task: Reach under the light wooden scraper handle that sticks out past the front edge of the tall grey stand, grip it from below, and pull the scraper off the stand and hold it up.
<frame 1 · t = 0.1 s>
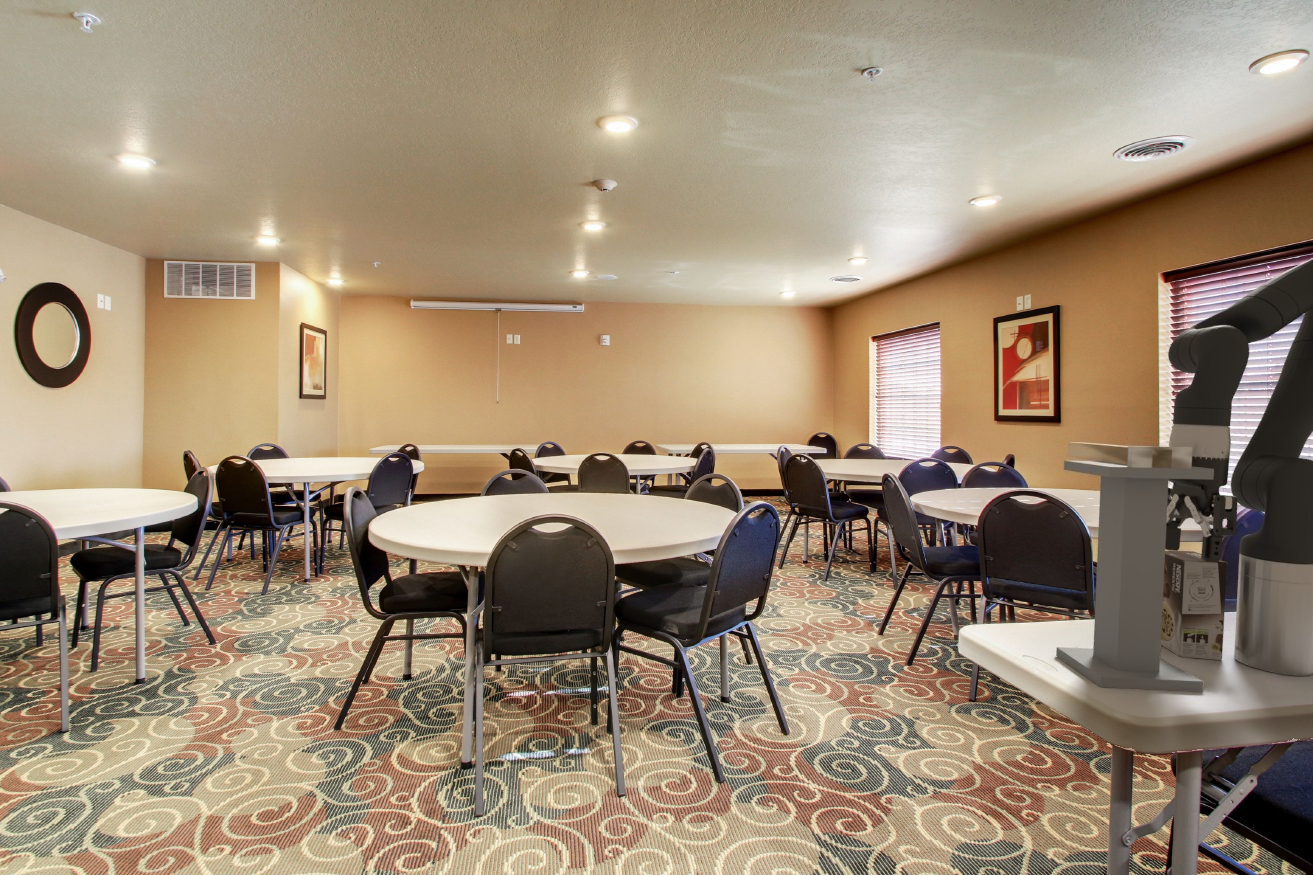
hand: (1189, 555, 104), 17 cm above the table, tool pointing down, fingers open, 8 cm apart
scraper: (1113, 461, 104), point 32 cm above the table, touching stand
stand: (1124, 672, 100), on the table
coffee box: (1185, 650, 111), on the table
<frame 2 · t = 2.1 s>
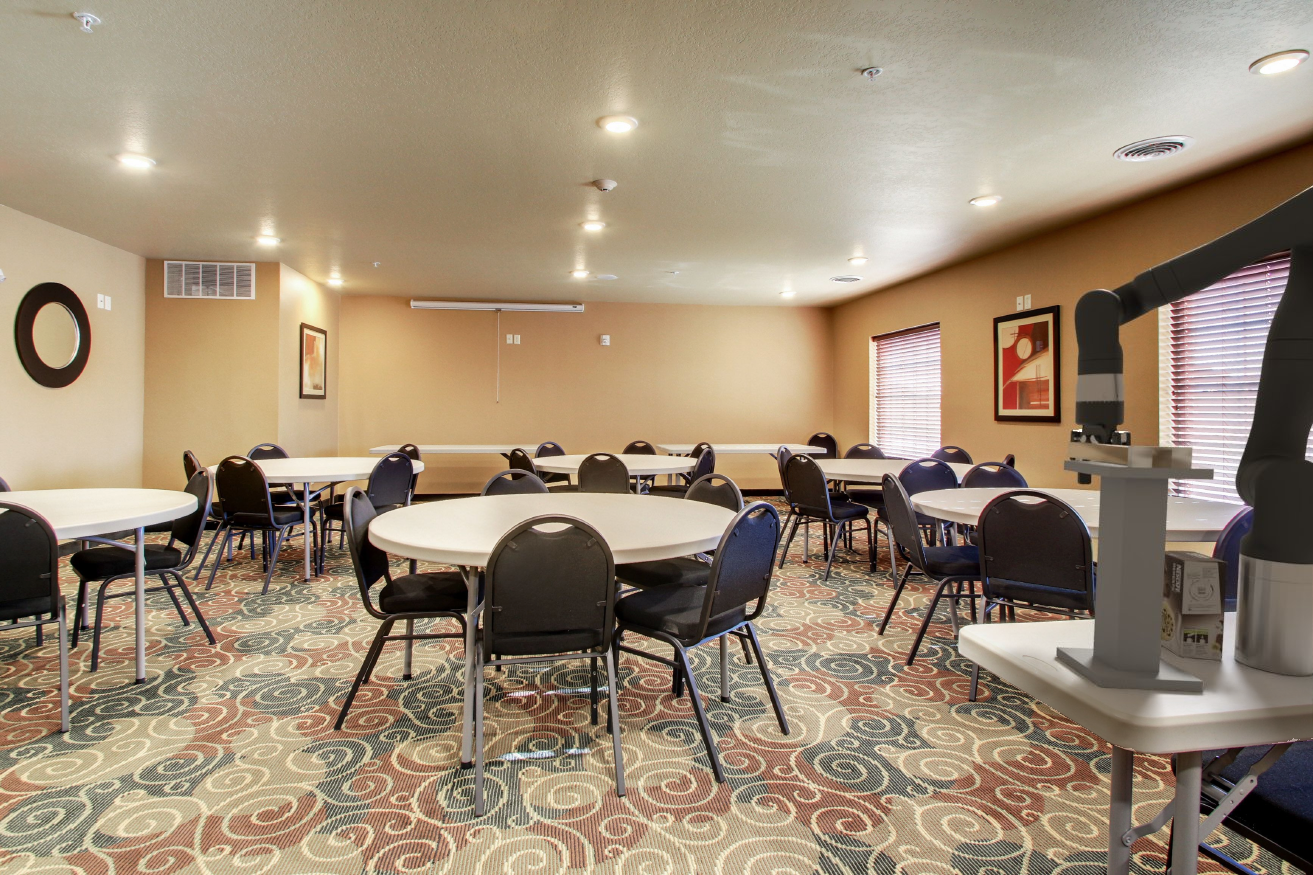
hand: (1098, 486, 122), 26 cm above the table, tool pointing down, fingers open, 8 cm apart
nothing on the table moved.
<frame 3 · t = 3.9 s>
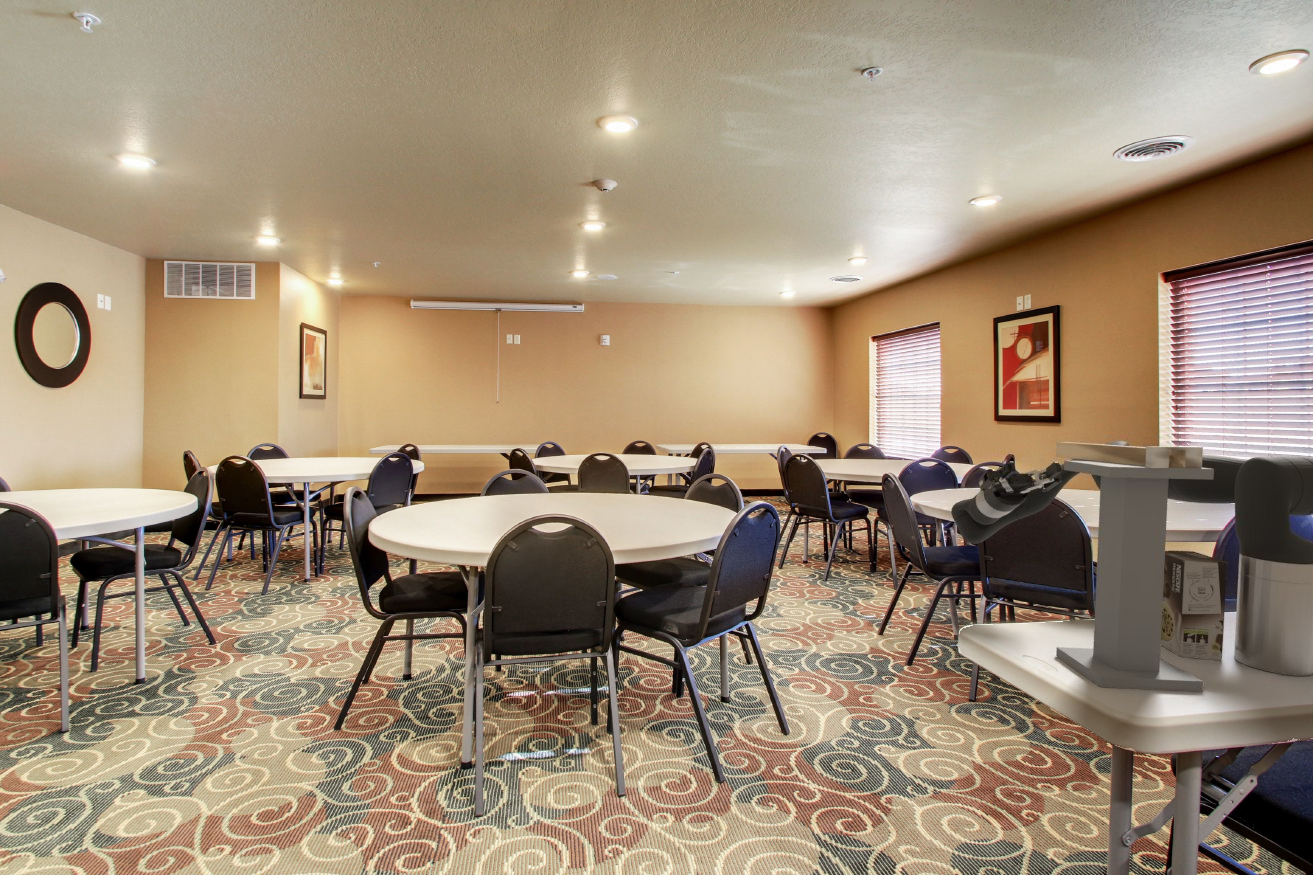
hand: (1035, 465, 128), 29 cm above the table, tool pointing upward, fingers open, 8 cm apart
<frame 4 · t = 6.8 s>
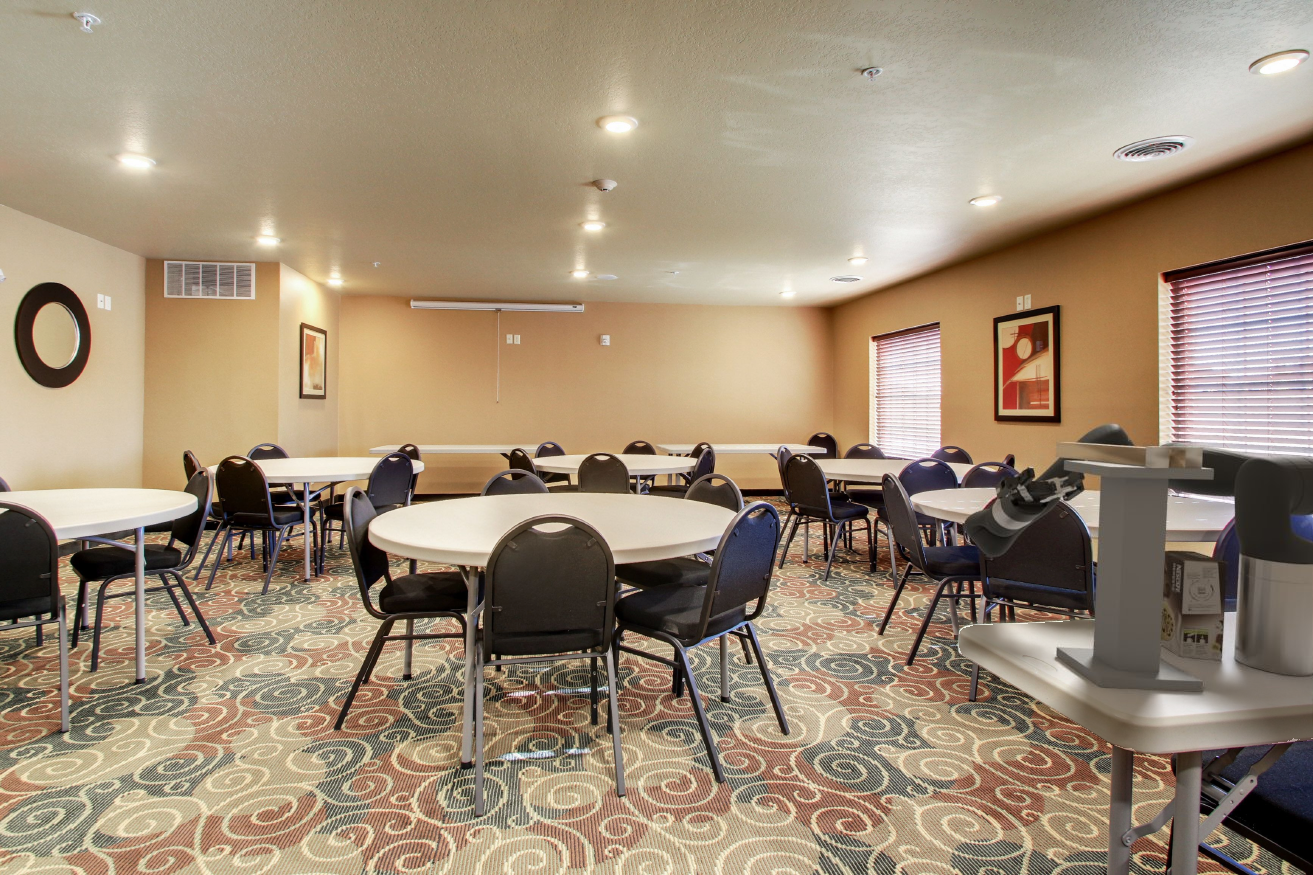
hand: (1056, 472, 120), 29 cm above the table, tool pointing upward, fingers open, 8 cm apart
nothing on the table moved.
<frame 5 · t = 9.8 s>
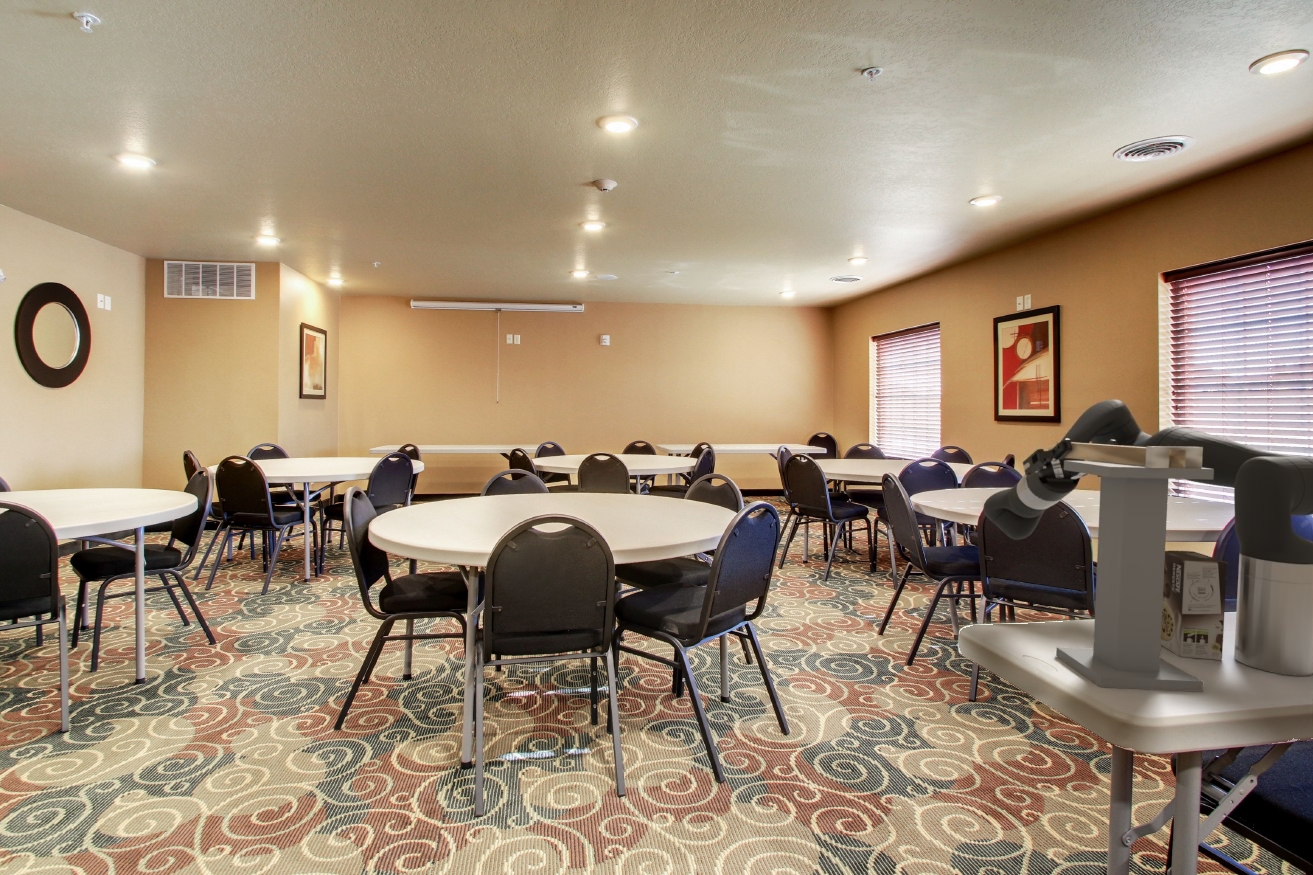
hand: (1091, 444, 110), 35 cm above the table, tool pointing upward, fingers open, 7 cm apart
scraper: (1113, 461, 104), point 32 cm above the table, touching gripper, stand
everything else where it was.
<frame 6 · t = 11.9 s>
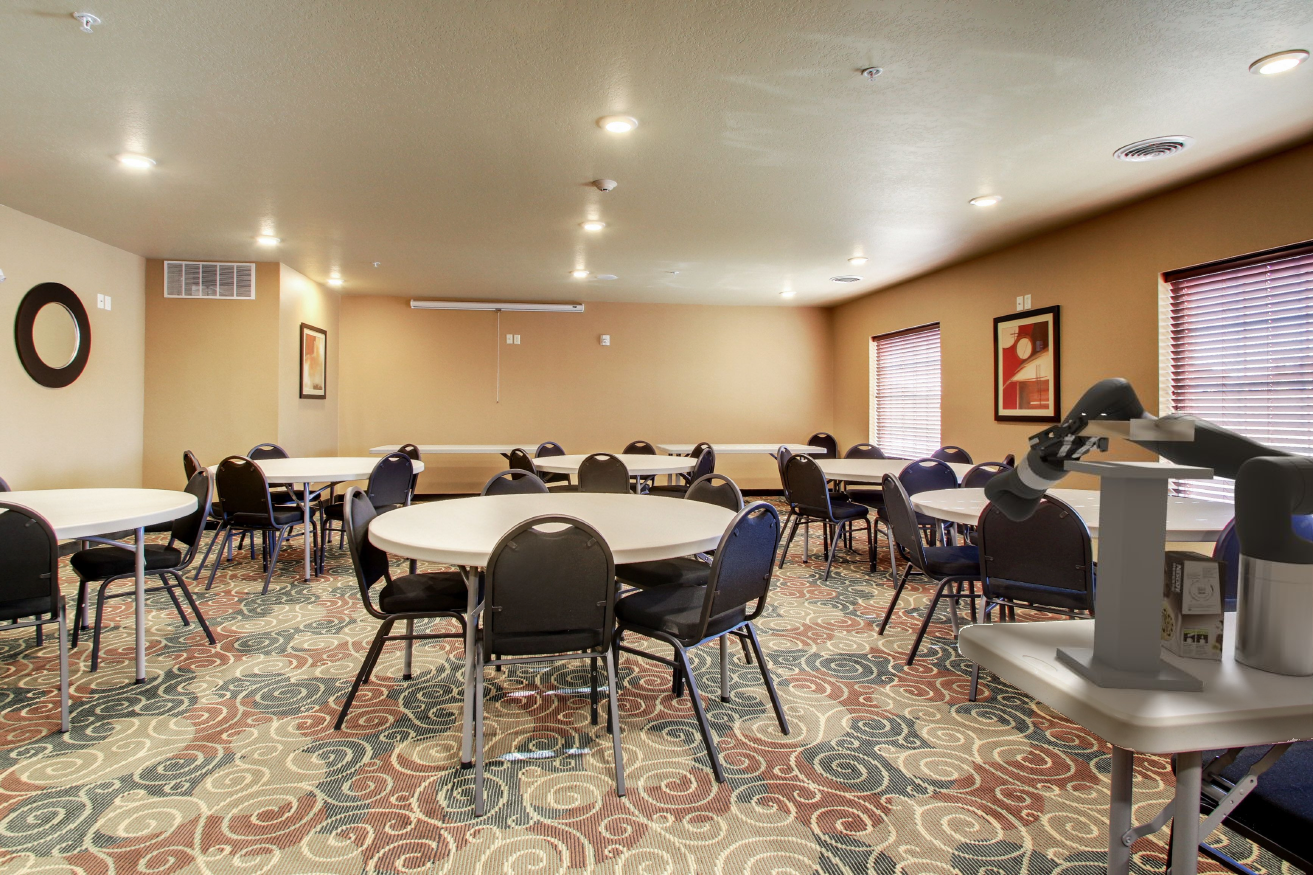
hand: (1094, 419, 109), 39 cm above the table, tool pointing upward, fingers closed on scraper, 2 cm apart
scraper: (1115, 437, 104), point 36 cm above the table, touching gripper
everything else where it was.
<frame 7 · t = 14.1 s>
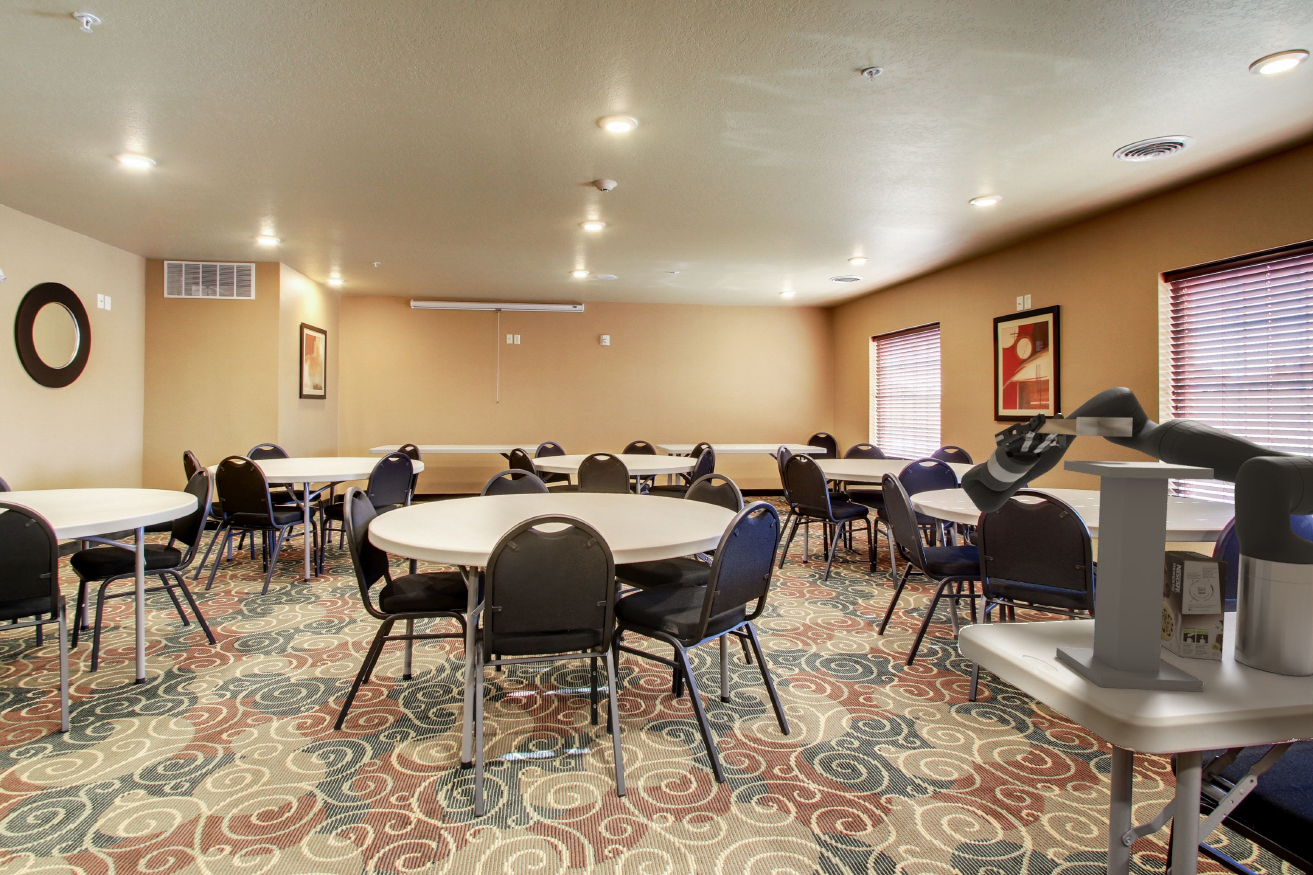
hand: (1051, 417, 122), 39 cm above the table, tool pointing upward, fingers closed on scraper, 2 cm apart
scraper: (1068, 434, 116), point 36 cm above the table, touching gripper
everything else where it was.
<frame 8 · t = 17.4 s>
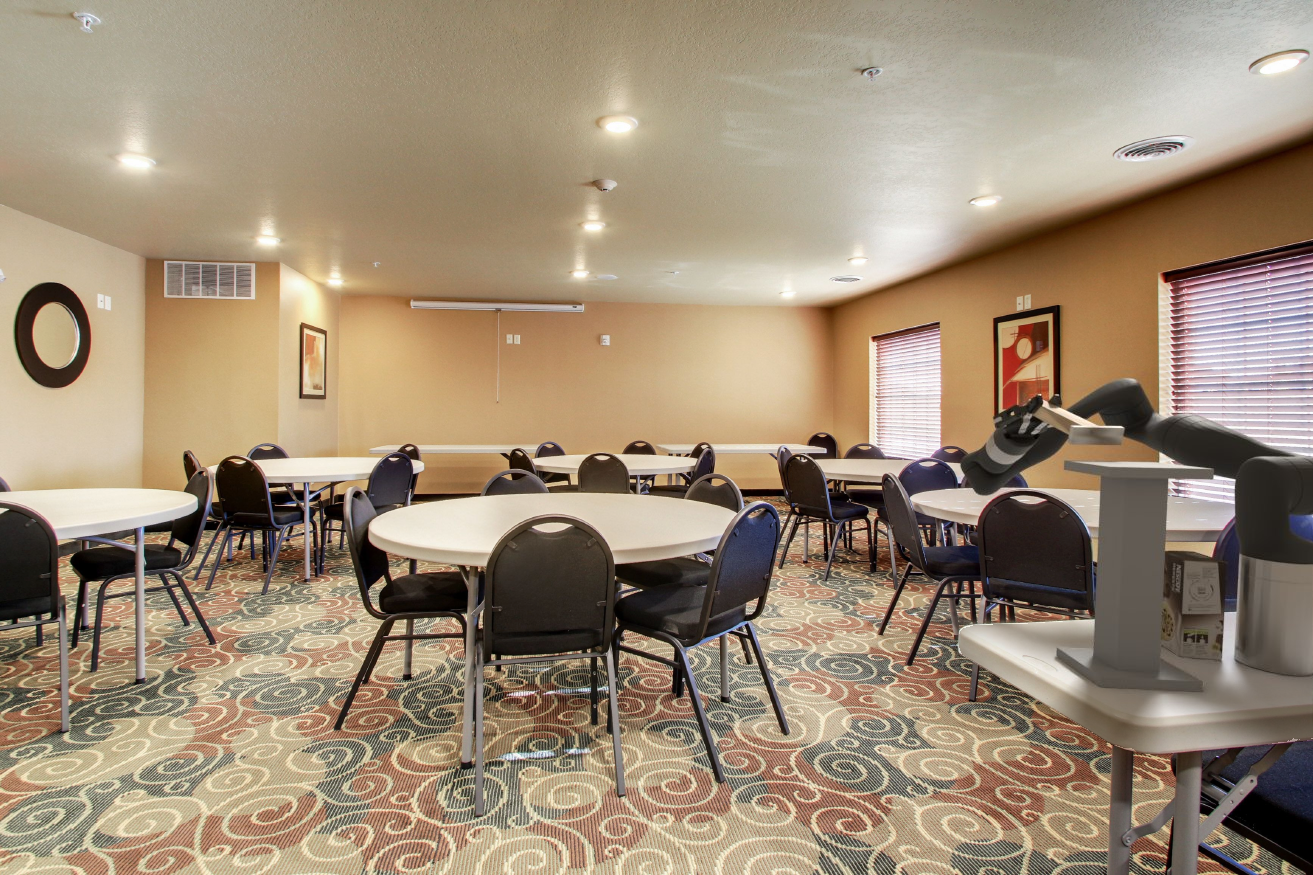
hand: (1049, 398, 124), 42 cm above the table, tool pointing upward, fingers closed on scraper, 2 cm apart
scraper: (1061, 427, 119), point 37 cm above the table, tilted 14°, touching gripper
everything else where it was.
at the end: the gripper is holding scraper; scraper moved 16.5 cm from its start; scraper touching gripper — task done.
